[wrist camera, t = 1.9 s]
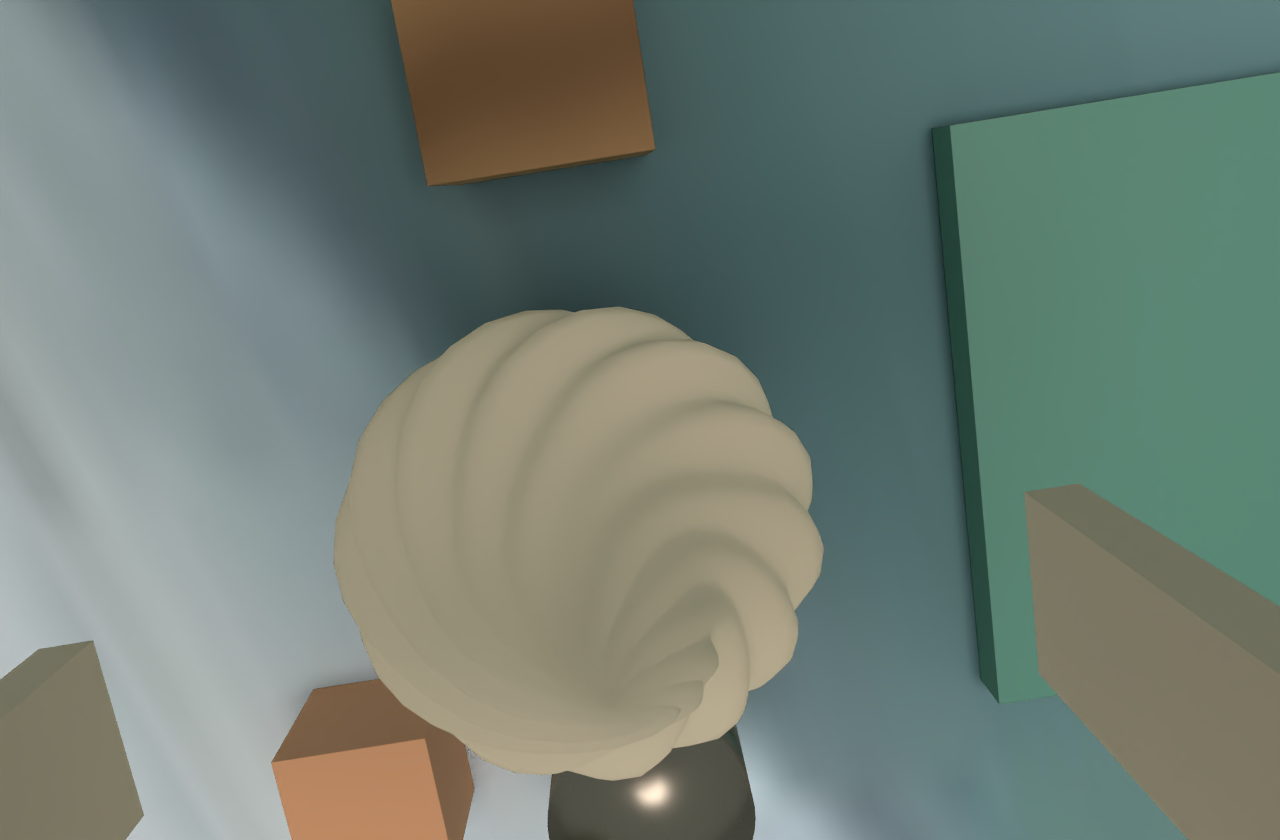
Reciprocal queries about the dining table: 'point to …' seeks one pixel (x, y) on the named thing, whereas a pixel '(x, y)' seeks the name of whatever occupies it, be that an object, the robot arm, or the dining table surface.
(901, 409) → the dining table surface
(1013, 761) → the dining table surface
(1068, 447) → the teal board
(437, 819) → the terracotta block
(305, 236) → the dining table surface
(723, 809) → the dark metal cylinder
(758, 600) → the soft serve ice cream cone
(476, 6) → the walnut cube
